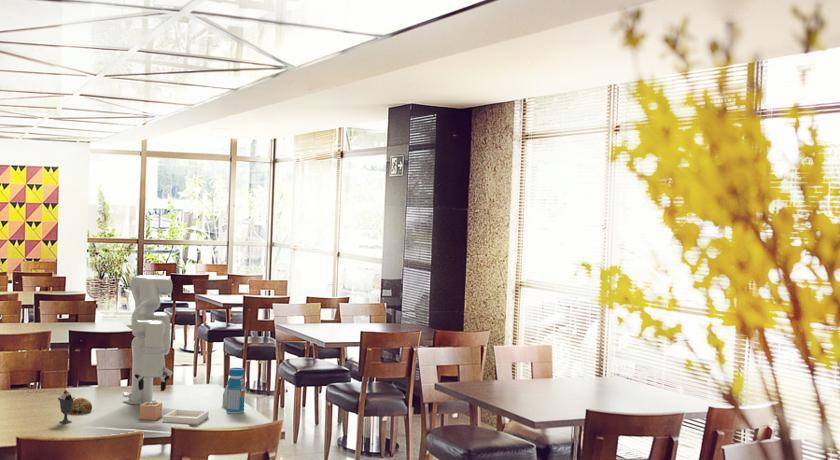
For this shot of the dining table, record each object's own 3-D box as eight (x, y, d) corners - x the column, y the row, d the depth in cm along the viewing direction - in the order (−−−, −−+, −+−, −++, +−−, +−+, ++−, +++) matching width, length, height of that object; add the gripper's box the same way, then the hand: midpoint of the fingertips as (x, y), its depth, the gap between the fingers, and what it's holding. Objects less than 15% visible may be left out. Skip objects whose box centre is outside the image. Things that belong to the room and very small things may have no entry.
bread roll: (93, 419, 365) (99, 402, 368) (79, 414, 356) (85, 396, 359) (75, 417, 368) (81, 400, 371) (60, 411, 359) (67, 393, 362)
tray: (162, 423, 348) (162, 416, 348) (175, 415, 363) (175, 409, 363) (196, 425, 347) (196, 418, 347) (208, 417, 362) (208, 411, 362)
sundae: (59, 420, 346) (61, 384, 346) (76, 420, 347) (77, 385, 347) (54, 424, 339) (55, 387, 340) (70, 424, 340) (72, 388, 340)
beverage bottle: (228, 414, 370) (230, 370, 370) (223, 410, 378) (225, 367, 378) (246, 413, 374) (248, 369, 374) (241, 409, 381) (243, 366, 382)
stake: (134, 421, 350) (135, 404, 350) (144, 416, 360) (144, 399, 360) (156, 422, 349) (157, 405, 349) (166, 417, 359) (166, 401, 359)
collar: (139, 418, 351) (139, 405, 351) (146, 415, 358) (146, 401, 358) (155, 419, 351) (155, 406, 351) (161, 416, 358) (162, 402, 358)
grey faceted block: (233, 409, 382) (234, 387, 382) (222, 407, 385) (223, 385, 385) (238, 407, 385) (239, 386, 385) (227, 405, 388) (228, 384, 388)
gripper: (130, 350, 351) (128, 390, 351) (169, 352, 350) (167, 392, 349) (138, 348, 359) (136, 388, 358) (176, 350, 357) (174, 389, 357)
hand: (151, 390), depth 354 cm, fingers open, 9 cm apart
